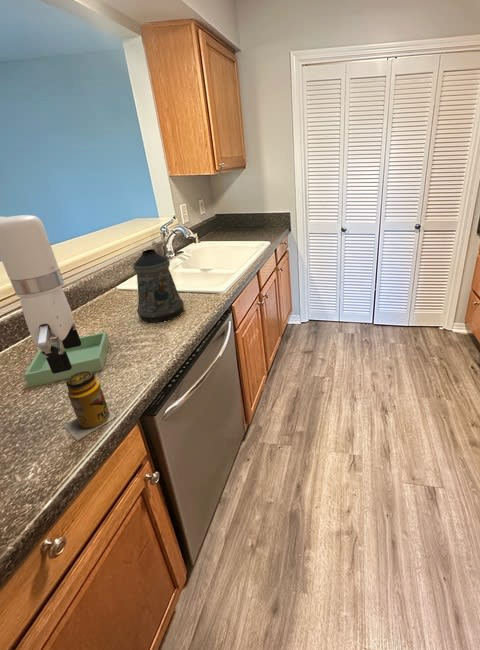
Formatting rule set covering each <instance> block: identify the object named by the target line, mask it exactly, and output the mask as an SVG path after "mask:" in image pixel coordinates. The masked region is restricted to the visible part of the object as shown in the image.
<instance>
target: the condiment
mask: <svg viewBox="0 0 480 650" xmlns="http://www.w3.org/2000/svg"><path fill="white" fill-rule="evenodd" d="M65 384H66V385H65V386H66V387H67V391H68V392H67V396H68V399H69V402H70V404H71V406H72V409H73V411H74V414H75V416H76V418H74V419H73V420H72V421H70V422H67V423H66V424H64V425H63V427H64V428H65V429H66V431H67V432H68V433H69V434H70V435H71V436H72V437H73V438H74V439H75V440H76V441H77V442H78V441H80V440H81V439H83V438H85V437H86V436H87V435H89V434H91V433H92V432H94V431H96V430H98V429H99V428H102V427H103V426H104V425H106V424H108V423H109V422H110V421H112V420H114V419H115V418H117V416H118V415H117V414H116V413H114V412H113V411H112V410H110V409H109V407H108V403H107V401H106V398H105V395H104V392H103V390H102V387H101V386H102V385H101V383H100V382H99V381H98V380H97V378H96V375H95V372H91V371H82V372H79V373H76V374H74V375H72V376H71V377H70V378H67V379H66V383H65Z"/></svg>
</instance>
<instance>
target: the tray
mask: <svg viewBox="0 0 480 650" xmlns="http://www.w3.org/2000/svg"><path fill="white" fill-rule="evenodd" d="M79 338H80V341H81V346H77V347H73V348H69V349H65V348H64V346H63V352H64V351H66V353H67V355H68V358H69V361H70V363H71V366H72V368H71V370H68V371H64V372H60V373H55V374H54V373H52V371H51V369H50V366H49V364H48V361H47V359H46V358H45V357H44V354H43V353H42V350H41V349H40V348H38V351H37V353H36V354H35V355H34V357H33V359H32V361H31V362H30V363H29V366H28V367H27V369H26V371H25V372H24V374H23V377H24V378H23V379H24V380H25V382H26V384H27V387H28V388H34V387H38V386H42V385H46V384H50V383H54V382H59V381H63V380H68V379H69V378H70V377H71V376H72V375H74V374H76V373H79V372H82V371H91V372H93V373H96V372H100V371H103V370H104V366H105V363H106V359H107V355H108V350H109V347H108V346H110V343H109V342H110V338H109V336H108V333H107V331H103V332H98V333H94V334H89V335H83V336H79ZM51 346H55V347H56V348H57V343H53V344H51Z"/></svg>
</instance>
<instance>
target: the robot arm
mask: <svg viewBox="0 0 480 650" xmlns="http://www.w3.org/2000/svg"><path fill="white" fill-rule="evenodd" d="M0 260H1V262H2V265H3V268H4V269H5V272H6V274H7V277H8V280H9V282H10V283H11V286H12V288H13V290H14V293H15V295H16V296H17V297H18V298H19V300H20V305H21V310H22V313H23V318H24V320H25V323H26V326H27V329H28V331H29V334H30V337H31V339H32V342H33V344H34V346H37V347H38V349H41V350H42V353H43V354H44V357H45V358H46V359H47V361H48V364H49V366H50V369H51V371H52V373H54V374H55V373H60V372H64V371H68V370H71V368H72V366H71V363H70V361H69V358H68V355H67V353H66V351H64V352H63V346H64V348H65V349H69V348H73V347H77V346H81V341H80V338H79V337H80V335H79V332H78V330H77V328H76V324H75V323H74V316H73V312H72V309H71V306H70V304H69V301H68V299H67V296H66V295H65V292H64V289H63V288H64V286H65V281H64V278H63V276H62V273H61V270H60V267H59V265H58V264H59V263H58V262H57V259H56V255H55V253H54V251H53V248H52V245H51V242H50V240H49V237H48V234H47V230H46V228H45V225H44V224H43V221H42V220H41V219H40V218H39V216H36V215H31V214H24V215H11V216H1V215H0ZM53 343H57V348H56V347H55V346H51V344H53Z"/></svg>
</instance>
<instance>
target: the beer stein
mask: <svg viewBox="0 0 480 650" xmlns="http://www.w3.org/2000/svg"><path fill="white" fill-rule="evenodd" d="M170 264H171V261H170V260H169V259H168V258H166V257H165V256H163V255H161V254H159V253H158V252H157V251H156V250H155V249H152V248H151V249H149V248H148V249H146V250H143V251H142V252H141V256H139V258H138V259H137V260H136V261H135V262H134V264H133V267H132V268H133V270H134V272H135V274H136V282H137V283H136V284H137V297H138V300H137V301H138V303H137V310H136V312H137V315H138V317H139V319H140V321H141V320H142V321H141V322H143V321H144V322H147V323H146V324H150V323H155V324H159V323H158V322H163V323H165V322H164V321H167V322H169V321H168V320H171V321H173V320H174V319H173V318H175V317H177V316H179V315H180V314H181V313H182V312H183V313H184V305H185V303H184V300H183V299H182V297H181V296H180V294H179V292H178V290H177V286H176V284H175V282H174V279H173V275H172V274H171V271H170ZM183 313H182V314H183ZM182 314H181V315H182ZM181 315H180V316H181ZM180 316H179V317H180ZM177 318H178V317H177ZM172 319H173V320H172ZM175 319H176V318H175ZM144 322H143V323H144Z"/></svg>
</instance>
